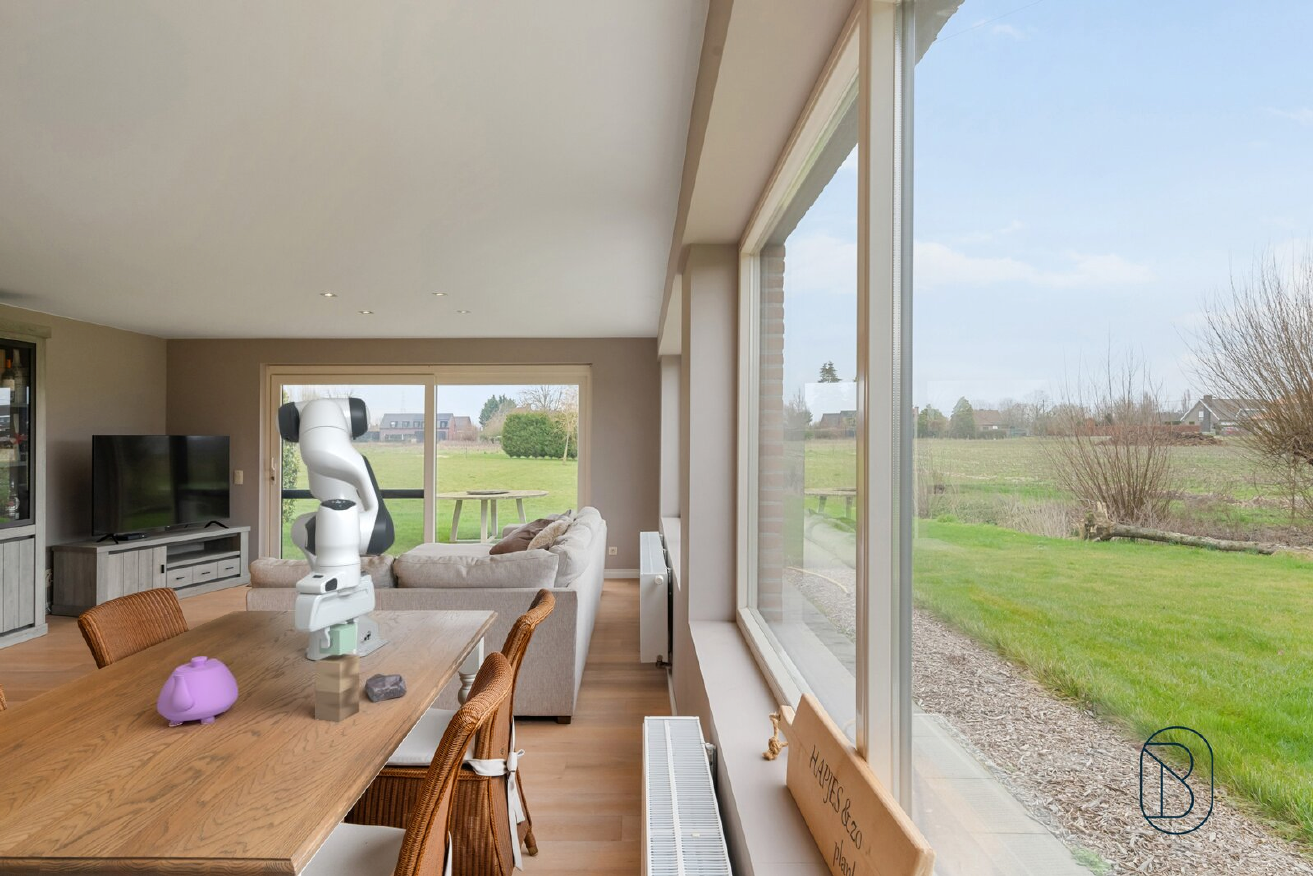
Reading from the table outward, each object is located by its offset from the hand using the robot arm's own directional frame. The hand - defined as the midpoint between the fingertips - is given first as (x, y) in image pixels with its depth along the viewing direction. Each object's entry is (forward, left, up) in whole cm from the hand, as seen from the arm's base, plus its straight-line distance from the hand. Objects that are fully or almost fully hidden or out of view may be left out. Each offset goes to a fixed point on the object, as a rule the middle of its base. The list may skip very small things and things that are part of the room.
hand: (337, 643), depth 146 cm
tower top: (0, 0, -9) cm, 9 cm away
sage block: (0, 0, -2) cm, 2 cm away
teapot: (+9, -27, -15) cm, 32 cm away
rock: (-13, +2, -15) cm, 21 cm away
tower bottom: (0, 0, -15) cm, 15 cm away
